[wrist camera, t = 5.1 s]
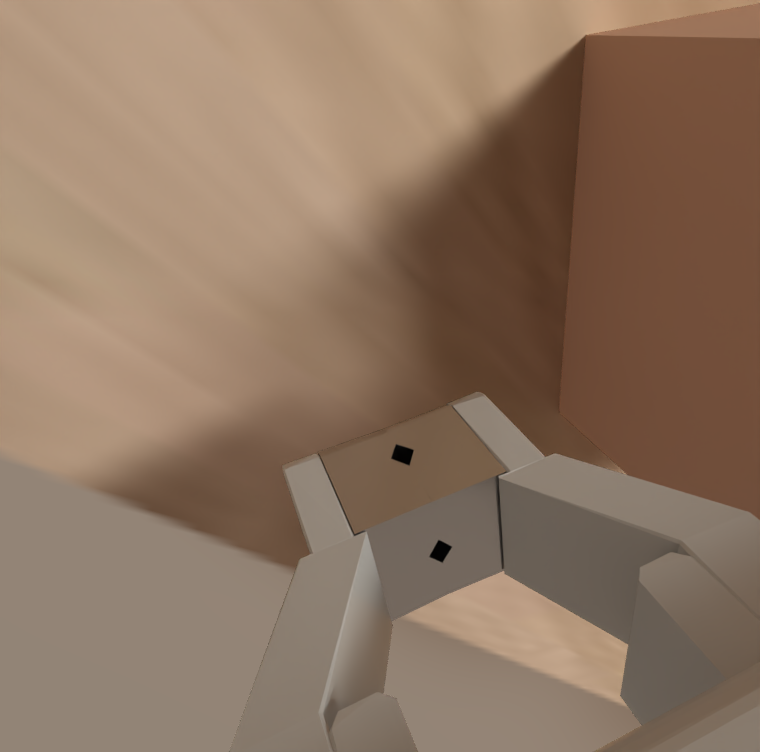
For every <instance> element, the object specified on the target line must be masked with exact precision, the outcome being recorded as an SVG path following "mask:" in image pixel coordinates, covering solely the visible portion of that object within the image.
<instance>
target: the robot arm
mask: <svg viewBox="0 0 760 752" xmlns="http://www.w3.org/2000/svg"><path fill="white" fill-rule="evenodd" d="M282 469H283V474H284V477H285V480H286V483H287V486H288V489H289V492H290V495H291V498H292V501H293V504H294V507H295V510H296V513H297V516H298V519H299V522H300V525H301V528H302V531H303V534H304V537H305V540H306V543H307V546H308V549H309V552H310V555H308V556H305V557H303V558H301V559H299V561H298V564H297V567H296V569H295V572H294V575H293V578H292V580H291V583H290V586H289V589H288V591H287V594H286V597H285V600H284V602H283V605H282V608H281V611H280V613H279V616H278V619H277V622H276V624H275V627H274V630H273V633H272V635H271V638H270V641H269V643H268V646H267V649H266V652H265V654H264V657H263V660H262V663H261V665H260V668H259V671H258V674H257V677H256V679H255V682H254V685H253V688H252V690H251V693H250V696H249V698H248V701H247V704H246V707H245V710H244V712H243V715H242V718H241V720H240V724H239V726H238V729H237V732H236V734H235V737H234V740H233V742H232V745H231V748H230V751H229V752H418V751H417V748H416V745H415V743H414V741H413V738H412V736H411V733H410V731H409V728H408V726H407V723H406V721H405V718H404V716H403V713H402V711H401V708H400V706H399V703H398V701H397V698H395V697H392V696H389V695H385V694H384V686H385V679H386V671H387V664H388V656H389V649H390V641H391V634H392V626H393V625H392V621H393V620H395V619H397V618H399V617H401V616H404V615H406V614H408V613H410V612H412V611H414V610H416V609H418V608H420V607H422V606H424V605H426V604H428V603H430V602H432V601H434V600H436V599H439V598H441V597H443V596H445V595H447V594H449V593H452V592H454V591H456V590H459V589H461V588H463V587H466V586H468V585H471V584H473V583H475V582H478V581H480V580H483V579H485V578H487V577H490V576H492V575H494V574H497V573H499V572H502V571H504V572H505V574H506V575H508V576H510V577H511V578H513V579H515V580H517V581H518V582H520V583H522V584H524V585H525V586H527V587H529V588H531V589H532V590H534V591H536V592H538V593H539V594H541V595H543V596H545V597H546V598H548V599H550V600H552V601H553V602H555V603H557V604H559V605H560V606H562V607H564V608H566V609H567V610H569V611H571V612H573V613H574V614H576V615H578V616H580V617H581V618H583V619H585V620H586V621H588V622H590V623H592V624H593V625H595V626H597V627H599V628H600V629H602V630H604V631H606V632H607V633H609V634H611V635H613V636H614V637H616V638H618V639H620V640H621V641H623V642H625V643H627V644H628V649H627V655H626V662H625V668H624V675H623V682H622V688H621V695H620V696H621V697H622V699H623V700H624V702H625V703H626V704H627V706H628V707H629V709H630V710H631V711H632V713H633V714H634V716H635V717H636V718H637V720H638V721H639V722H640V724H641V725H642V726H640V727H638V728H636V729H634V730H632V731H631V732H629V733H627V734H625V735H623V736H622V737H620V738H618V739H616V740H614V741H612V742H610V743H608V744H607V745H605V746H603V747H601V748H599V749H598V750H596V751H594V752H760V520H759V519H758V518H756V517H755V516H754V515H753V514H751V513H750V512H747V511H744V510H741V509H737V508H734V507H731V506H728V505H724V504H721V503H718V502H714V501H711V500H708V499H705V498H701V497H698V496H695V495H691V494H688V493H685V492H681V491H678V490H675V489H672V488H668V487H665V486H662V485H658V484H655V483H652V482H648V481H645V480H642V479H639V478H635V477H632V476H629V475H625V474H622V473H619V472H615V471H612V470H609V469H606V468H602V467H599V466H596V465H592V464H589V463H586V462H583V461H579V460H576V459H573V458H569V457H566V456H563V455H559V454H556V453H554V454H552V455H549V456H547V457H545V456H544V455H543V454H542V453H541V452H540V451H539V450H538V449H537V448H536V447H535V446H534V445H533V444H532V443H531V442H530V441H529V440H528V438H527V437H526V436H525V435H524V434H523V433H522V432H521V431H520V430H519V429H518V428H517V427H516V426H515V425H514V424H513V423H512V422H511V421H510V420H509V419H508V418H507V417H506V416H505V415H504V414H503V413H502V412H501V411H500V410H499V409H498V408H497V407H496V406H495V405H494V404H493V403H492V402H491V401H490V400H489V399H488V398H487V396H486V395H485V394H483V393H480V392H475V393H472V394H470V395H467V396H465V397H462V398H460V399H457V400H455V401H452V402H450V403H447V404H446V405H445V406H442V407H439V408H436V409H434V410H431V411H429V412H426V413H423V414H421V415H418V416H416V417H413V418H410V419H408V420H405V421H403V422H400V423H397V424H395V425H392V426H390V427H387V428H384V429H381V430H379V431H376V432H373V433H370V434H367V435H364V436H362V437H359V438H356V439H353V440H350V441H347V442H344V443H342V444H339V445H336V446H333V447H330V448H327V449H325V450H322V451H319V452H318V455H317V454H316V453H315V454H312V455H309V456H307V457H304V458H301V459H298V460H295V461H292V462H290V463H287V464H284V465H282Z"/></svg>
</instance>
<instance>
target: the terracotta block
mask: <svg viewBox="0 0 760 752" xmlns="http://www.w3.org/2000/svg"><path fill="white" fill-rule="evenodd" d="M559 413H560V414H561V415H562V416H564V417H565V418H566V419H567V420H568V421H569V422H570V423H571V424H572V425H573V426H575V427H576V428H577V429H578V430H579V431H580V432H581V433H582V434H583V435H585V436H586V437H587V438H588V439H589V440H590V441H591V442H592V443H593V444H594V445H596V446H597V447H598V448H599V449H600V450H601V451H602V452H603V453H604V454H606V455H607V456H608V457H609V458H610V459H611V460H612V461H613V462H614V463H615V464H617V465H618V466H619V467H620V468H621V469H622V470H623V471H624V472H625V473H626V474H628V475H629V476H632V477H635V478H639V479H642V480H645V481H648V482H652V483H655V484H658V485H662V486H665V487H668V488H672V489H675V490H678V491H681V492H685V493H688V494H691V495H695V496H698V497H701V498H705V499H708V500H711V501H714V502H718V503H721V504H724V505H728V506H731V507H734V508H737V509H741V510H744V511H747V512H750V513H751V514H753V515H754V516H755V517H756V518H758V519H759V520H760V3H758V4H753V5H747V6H742V7H736V8H731V9H725V10H720V11H715V12H709V13H704V14H698V15H693V16H687V17H682V18H676V19H671V20H665V21H660V22H655V23H649V24H644V25H638V26H633V27H627V28H622V29H616V30H611V31H605V32H600V33H594V34H589V35H586V40H585V54H584V68H583V82H582V96H581V110H580V124H579V138H578V152H577V165H576V179H575V193H574V207H573V221H572V235H571V249H570V263H569V277H568V291H567V305H566V319H565V333H564V347H563V361H562V375H561V389H560V403H559Z"/></svg>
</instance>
